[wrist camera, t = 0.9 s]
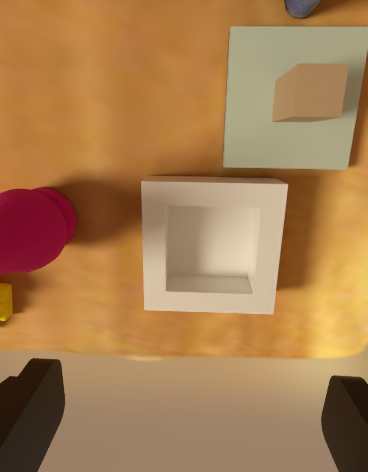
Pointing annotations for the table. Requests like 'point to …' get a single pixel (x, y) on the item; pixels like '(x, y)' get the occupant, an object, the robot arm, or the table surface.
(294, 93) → the lid
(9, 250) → the pepper mill
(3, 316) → the yellow lumpy cluster
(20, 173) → the table surface
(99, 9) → the table surface
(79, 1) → the table surface
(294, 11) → the flask
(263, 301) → the dish
